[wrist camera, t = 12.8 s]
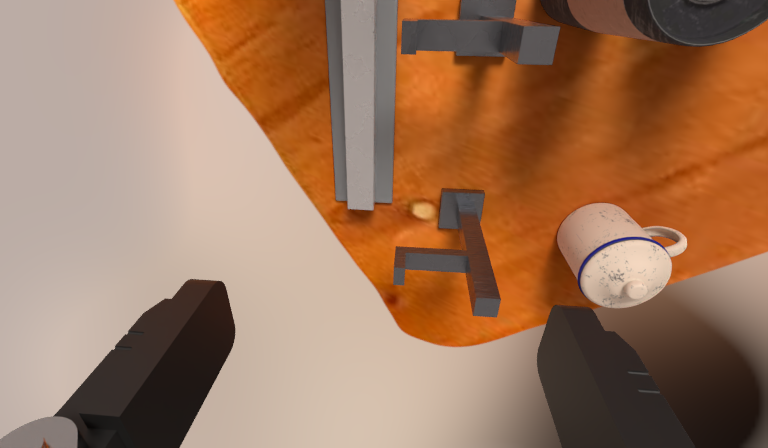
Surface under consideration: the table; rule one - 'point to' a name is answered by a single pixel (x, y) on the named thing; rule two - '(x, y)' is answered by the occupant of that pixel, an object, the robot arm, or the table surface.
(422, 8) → the table surface
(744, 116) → the table surface
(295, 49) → the table surface
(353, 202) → the aluminium rail
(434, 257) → the rail stand
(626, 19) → the travel mug
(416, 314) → the table surface
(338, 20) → the rubber mat
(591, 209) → the teacup with lid
